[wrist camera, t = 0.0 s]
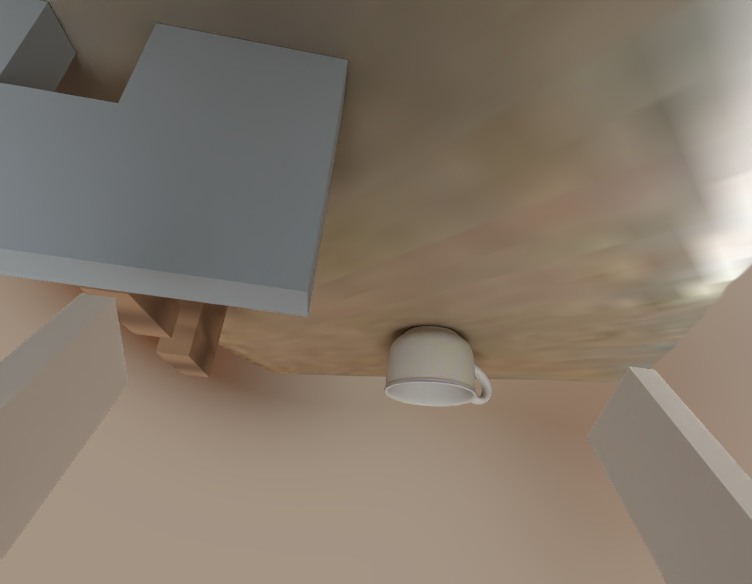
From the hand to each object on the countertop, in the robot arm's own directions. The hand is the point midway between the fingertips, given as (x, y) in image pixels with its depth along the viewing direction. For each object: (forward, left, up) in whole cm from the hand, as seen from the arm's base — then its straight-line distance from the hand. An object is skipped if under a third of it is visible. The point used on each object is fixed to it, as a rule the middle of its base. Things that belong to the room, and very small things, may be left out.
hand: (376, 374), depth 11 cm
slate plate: (+4, -13, -15) cm, 21 cm away
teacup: (+39, +13, -16) cm, 44 cm away
